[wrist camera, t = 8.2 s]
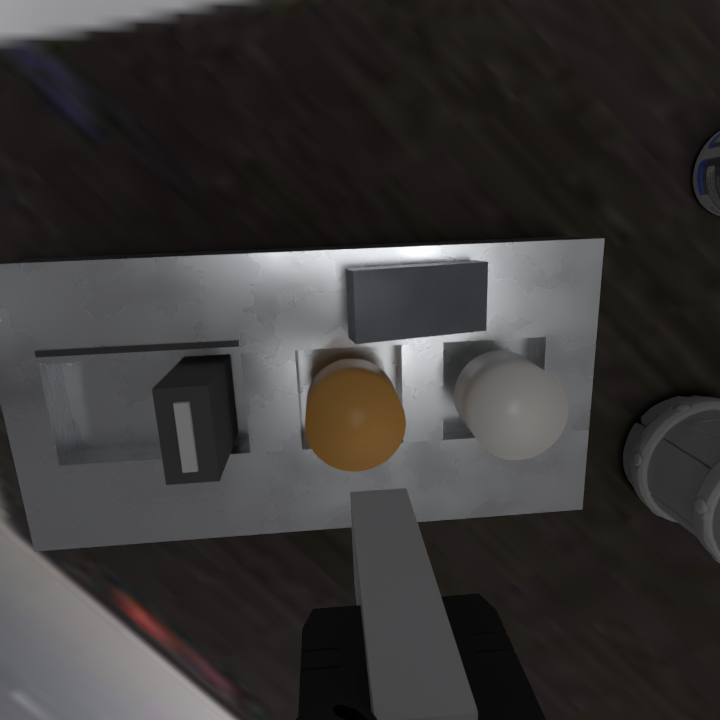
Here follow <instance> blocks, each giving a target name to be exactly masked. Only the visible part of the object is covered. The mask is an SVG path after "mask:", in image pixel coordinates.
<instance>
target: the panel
mask: <svg viewBox="0 0 720 720" xmlns="http://www.w3.org/2000/svg"><path fill="white" fill-rule="evenodd" d="M603 250H604V238H590V237H572V236H556V237H532V238H508V239H485V240H461V241H437V242H413V243H390V244H366V245H342V246H318V247H295V248H271V249H247V250H223V251H200V252H176V253H152V254H128V255H104V256H81V257H57V258H33V259H17V260H9V261H1V262H0V403H1V407H2V412H3V416H4V420H5V425H6V429H7V434H8V438H9V442H10V447H11V451H12V455H13V460H14V464H15V468H16V473H17V477H18V481H19V486H20V490H21V494H22V499H23V503H24V508H25V512H26V516H27V521H28V525H29V529H30V534H31V538H32V542H33V547H34V551H48V550H61V549H74V548H87V547H100V546H113V545H126V544H139V543H152V542H165V541H178V540H191V539H204V538H217V537H230V536H243V535H256V534H269V533H282V532H295V531H308V530H321V529H334V528H347V527H352V520H351V499H350V492H358V491H372V490H387V489H401V488H406V489H407V492H408V495H409V498H410V501H411V504H412V508H413V511H414V514H415V517H416V520H417V522H424V521H437V520H450V519H463V518H476V517H489V516H502V515H515V514H528V513H541V512H554V511H567V510H580V509H582V507H583V495H584V482H585V470H586V458H587V446H588V433H589V421H590V409H591V397H592V385H593V372H594V360H595V348H596V336H597V323H598V311H599V299H600V287H601V275H602V262H603ZM471 260H477V261H485V262H488V288H487V327H486V331H479V332H469V333H460V334H450V335H440V336H431V337H421V338H412V339H402V340H392V341H383V342H373V343H364V344H355V343H354V342H352V341H351V340H350V339H349V338H348V317H347V295H346V272H345V268H361V267H377V266H392V265H408V264H424V263H439V262H455V261H471ZM496 350H506V351H511V352H515V353H517V354H519V355H521V356H523V357H524V358H526V359H527V360H529V361H531V362H532V363H534V364H535V365H537V366H538V367H540V368H541V369H543V370H544V371H546V372H547V373H549V374H550V375H552V376H553V377H554V378H555V379H557V381H558V382H559V383H560V384H561V386H562V387H563V389H564V391H565V393H566V396H567V399H568V406H569V408H568V419H567V422H566V425H565V428H564V430H563V432H562V433H561V435H560V437H559V438H558V439H557V441H556V442H555V443H554V444H553V445H552V446H551V447H550V448H548V449H547V450H546V451H544V452H543V453H541V454H539V455H537V456H534V457H532V458H529V459H525V460H505V459H502V458H499V457H496V456H494V455H492V454H490V453H489V452H488V451H486V450H485V449H484V448H483V447H482V446H481V445H480V443H479V442H478V440H477V439H476V438H475V436H474V435H473V434H472V432H471V431H470V429H469V428H468V427H467V425H466V424H465V423H464V421H463V420H462V418H461V417H460V416H459V414H458V412H457V409H456V407H455V402H454V389H455V384H456V381H457V379H458V377H459V375H460V373H461V372H462V370H463V369H464V368H465V366H466V365H467V364H468V363H469V362H470V361H472V360H473V359H474V358H476V357H478V356H479V355H481V354H484V353H486V352H490V351H496ZM222 354H230V359H231V369H232V378H233V388H234V397H235V407H236V416H237V426H238V435H237V437H236V440H235V443H234V445H233V448H232V450H231V453H230V456H229V458H228V461H227V464H226V466H225V469H224V471H223V474H222V477H221V479H220V481H217V482H202V483H188V484H174V485H166V481H165V474H164V468H163V461H162V454H161V448H160V441H159V434H158V427H157V421H156V414H155V407H154V400H153V394H152V388H153V387H154V386H155V385H156V384H157V383H158V382H159V381H160V380H161V379H162V378H163V377H164V376H165V375H166V374H167V373H168V372H169V371H170V370H171V369H172V368H173V367H174V366H175V365H176V364H177V363H178V362H179V361H180V360H181V359H182V358H183V357H185V356H203V355H222ZM343 359H362V360H366V361H369V362H371V363H373V364H375V365H377V366H378V367H379V368H381V369H382V370H383V371H384V372H385V373H386V374H387V376H388V377H389V378H390V380H391V382H392V384H393V386H394V388H395V391H396V393H397V395H398V397H399V399H400V402H401V404H402V406H403V409H404V412H405V418H406V429H405V434H404V437H403V440H402V442H401V444H400V446H399V448H398V449H397V451H396V452H395V453H394V454H393V455H392V456H391V457H390V458H389V459H388V460H387V461H385V462H384V463H383V464H381V465H379V466H377V467H375V468H372V469H369V470H365V471H359V472H350V471H343V470H339V469H336V468H333V467H331V466H329V465H327V464H326V463H325V462H323V461H322V460H321V459H320V458H318V457H317V455H316V454H315V453H314V452H313V450H312V449H311V447H310V445H309V443H308V440H307V437H306V432H305V417H306V402H307V393H308V390H309V387H310V385H311V382H312V381H313V379H314V378H315V376H316V375H317V374H318V373H319V372H320V371H321V370H322V369H323V368H325V367H326V366H327V365H329V364H331V363H333V362H336V361H339V360H343Z"/></svg>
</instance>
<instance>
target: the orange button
mask: <svg viewBox="0 0 720 720" xmlns="http://www.w3.org/2000/svg"><path fill="white" fill-rule="evenodd" d="M405 429H406V418H405V412H404V409H403V406H402V404H401V402H400V399H399V397H398V395H397V393H396V391H395V388H394V386H393V384H392V382H391V380H390V378H389V377H388V376H387V374H386V373H385V372H384V371H383V370H382V369H381V368H379V367H378V366H377V365H375V364H373V363H371V362H369V361H366V360H362V359H343V360H339V361H336V362H333V363H331V364H329V365H327V366H326V367H325V368H323V369H322V370H321V371H320V372H319V373H318V374H317V375H316V376H315V378H314V379H313V381H312V382H311V385H310V387H309V390H308V393H307V402H306V417H305V432H306V437H307V440H308V443H309V445H310V447H311V449H312V450H313V452H314V453H315V454H316V455H317V457H318V458H320V459H321V460H322V461H323V462H325V463H326V464H327V465H329V466H331V467H333V468H336V469H339V470H343V471H350V472H359V471H365V470H369V469H372V468H375V467H377V466H379V465H381V464H383V463H384V462H385V461H387V460H388V459H389V458H390V457H391V456H392V455H393V454H394V453H395V452H396V451H397V449H398V448H399V446H400V444H401V442H402V440H403V437H404V434H405Z"/></svg>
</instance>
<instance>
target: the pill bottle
mask: <svg viewBox="0 0 720 720" xmlns="http://www.w3.org/2000/svg"><path fill="white" fill-rule="evenodd" d="M693 187H694V191H695V194H696V197H697V199H698V200H699V202H700V204H701V205H702V206H703V207H704V208H705V209H706V210H708V211H709V212H711V213H713V214H715V215H718V216H720V131H719V132H717V133H716V134H715V135H714V136H712V137H711V139H710V140H709V141H708V142H707V143H706V144H705V146H704V147H703V149H702V150H701V152H700V154H699V156H698V158H697V161H696V164H695V168H694V172H693Z"/></svg>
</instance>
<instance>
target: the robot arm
mask: <svg viewBox="0 0 720 720" xmlns="http://www.w3.org/2000/svg"><path fill="white" fill-rule="evenodd" d="M350 499H351V520H352V541H353V562H354V582H355V592H356V603H357V605H356V606H344V607H332V608H320V609H313V610H312V612H311V614H310V616H309V618H308V619H307V621H306V623H305V625H304V627H303V629H302V649H301V652H302V655H301V674H300V692H299V714H298V718H297V719H296V720H546V719H545V717H544V715H543V712H542V710H541V708H540V706H539V704H538V701H537V699H536V697H535V695H534V693H533V690H532V688H531V686H530V684H529V681H528V679H527V677H526V675H525V673H524V670H523V668H522V666H521V664H520V662H519V659H518V657H517V655H516V653H514V650H513V646H512V644H511V642H510V639H509V637H508V635H506V631H505V628H504V626H503V624H502V622H501V619H500V617H499V615H498V613H497V611H496V609H494V608H493V607H492V606H491V605H490V604H489V603H488V602H487V601H486V600H485V599H484V598H483V597H482V596H481V595H480V594H468V595H456V596H444V597H441V595H440V592H439V589H438V586H437V583H436V579H435V576H434V573H433V570H432V567H431V564H430V561H429V558H428V554H427V551H426V548H425V545H424V542H423V539H422V536H421V533H420V529H419V526H418V523H417V520H416V517H415V514H414V511H413V508H412V504H411V501H410V498H409V495H408V492H407V489H406V488H401V489H387V490H372V491H358V492H350Z"/></svg>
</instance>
